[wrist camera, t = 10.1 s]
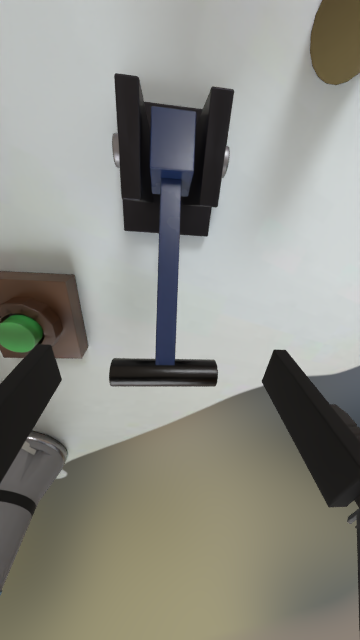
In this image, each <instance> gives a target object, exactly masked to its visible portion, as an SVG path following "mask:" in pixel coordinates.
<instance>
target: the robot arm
mask: <svg viewBox="0 0 360 640" xmlns="http://www.w3.org/2000/svg"><path fill="white" fill-rule="evenodd" d="M61 380H62V379H61V376H60V372H59V369H58V366H57V362H56V359H55V356H54V352H53V349H52V346H51V345H44V344H37V345H36V346H35V347H34V348H33V349H32V350H31V351H30V352H29V353H28V354H27V355H26V357H25V358H24V359H23V360H22V361H21V362H20V363H19V364H18V365H17V366H16V367H15V369H14V370H13V371H12V372H11V373H10V374H9V375H8V376H7V377H6V378H5V379H4V380H3V382H2V383H1V384H0V595H1V593H2V588H3V585H4V583H5V580H6V578H7V576H8V573H9V571H10V569H11V566H12V564H13V561H14V559H15V556H16V554H17V552H18V549H19V547H20V545H21V542H22V539H23V537H24V535H25V532H26V530H27V528H28V525H29V523H30V521H31V518H32V516H33V514H34V511H35V509H36V507H37V504H38V502H39V501H40V499H41V498H42V496H43V495H44V493H45V492H46V491H47V490H48V488H49V487H50V485H51V484H52V482H53V481H54V480H55V478H56V477H57V476H58V474H59V473H60V471H61V470H62V468H63V466H64V464H65V461H66V458H67V451H66V449H65V448H64V446H63V445H62V444H61V443H59V442H58V441H57V440H55V439H53V438H51V437H49V436H47V435H44V434H41V433H37V432H32V429H33V428H34V426H35V424H36V422H37V421H38V419H39V417H40V416H41V414H42V412H43V411H44V409H45V407H46V406H47V404H48V402H49V401H50V399H51V397H52V396H53V394H54V392H55V390H56V389H57V387H58V385H59V384H60V382H61ZM262 383H263V385H264V387H265V389H266V391H267V392H268V394H269V396H270V398H271V400H272V402H273V404H274V405H275V407H276V409H277V411H278V413H279V415H280V417H281V419H282V420H283V422H284V424H285V426H286V428H287V430H288V432H289V433H290V435H291V437H292V439H293V441H294V443H295V445H296V447H297V448H298V450H299V452H300V454H301V456H302V458H303V460H304V461H305V464H306V465H307V467H308V469H309V471H310V473H311V475H312V477H313V479H314V480H315V482H316V484H317V486H318V488H319V490H320V492H321V493H322V495H323V497H324V499H325V501H326V503H327V505H328V507H347V506H348V505H349V504H350V503H351V502H352V501H354V500H355V502H356V504H357V505H358V507H359V509H358V510H357V511H355V512H354V513H353V514H351V515H350V516H349V517H348V520H347V522H348V523H350V524H351V523H352V522H354V521H355V520H357V526H356V528H357V549H358V589H359V629H360V428H359V427H357V424H356V423H355V422H354V421H353V420H352V419H351V417H350V416H349V415H348V414H347V413H346V412H344V411H343V410H342V409H341V408H339V407H338V406H337V405H335V404H334V405H333V404H332V405H331V404H329V403H328V402H327V401H326V399H325V398H324V397H323V395H322V394H321V393H320V392H319V391H318V389H317V388H316V387H315V386H314V384H313V383H312V382H311V381H310V379H309V378H308V377H307V376H306V374H305V373H304V372H303V371H302V370H301V368H300V367H299V366H298V365H297V363H296V362H295V361H294V360H293V358H292V357H291V356H290V355H289V354H288V352H287V351H286V350H274V351H273V353H272V356H271V359H270V361H269V364H268V366H267V369H266V372H265V374H264V377H263V379H262Z"/></svg>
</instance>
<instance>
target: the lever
mask: <svg viewBox="0 0 360 640" xmlns="http://www.w3.org/2000/svg"><path fill="white" fill-rule="evenodd" d="M195 138H196V112H195V111H188V110H180V109H172V108H164V107H156V106H151V127H150V166H149V167H150V178H151V189H152V193H153V194H160V223H159V257H158V291H157V324H156V358H155V359H128V358H114V359H113V360H112V362H111V366H110V372H109V381H110V385H111V386H216V384H217V379H218V370H217V364H216V362H215V360H200V359H175V345H176V319H177V292H178V265H179V239H180V212H181V196H186V197H187V196H188V194H189V190H190V186H191V182H192V178H193V174H194V162H195Z"/></svg>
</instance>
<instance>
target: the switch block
mask: <svg viewBox="0 0 360 640" xmlns="http://www.w3.org/2000/svg"><path fill="white" fill-rule="evenodd" d="M12 315H25V316H28V317H30V318H32V319H34V320H35V321H36V322H38V323H39V325H40V326H41V328H42V330H43V337H42V339H41V340H40V341H39V342H38V343H37V344H44V345H51V346H52V349H53V352H54V356H55V358H78V359H81V358H82V357H83V355H84V353H85V352H86V350H87V348H88V344H87V338H86V333H85V328H84V322H83V317H82V312H81V307H80V301H79V296H78V291H77V285H76V280H75V275H69V274H49V273H29V272H9V271H0V323H1V322H3V321H4V320H5V319H7V318H8V317H10V316H12ZM0 350H1V352H2V354H3V357H4V358H25V357H26V355H27V354H28V353H29V352H30V351H31V350H30V351H28V352H14V351H11V350H8V349H6V348H5V347H3V346H2V345H1V344H0Z"/></svg>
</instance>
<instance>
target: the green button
mask: <svg viewBox="0 0 360 640" xmlns="http://www.w3.org/2000/svg"><path fill="white" fill-rule="evenodd" d="M42 337H43V330H42V328H41V326H40V325H39V323H38V322H36V321H35V320H34V319H32V318H30V317H28V316H25V315H12V316H10V317H8V318H7V319H5V320H4V321H3V322H1V323H0V344H1V345H2V346H3V347H5V348H6V349H8V350H11V351H14V352H28V351H30V350H32V349H33V348H34V347H35V346H36V345H37V343H38V342H39V341H40V340H41V339H42Z"/></svg>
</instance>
